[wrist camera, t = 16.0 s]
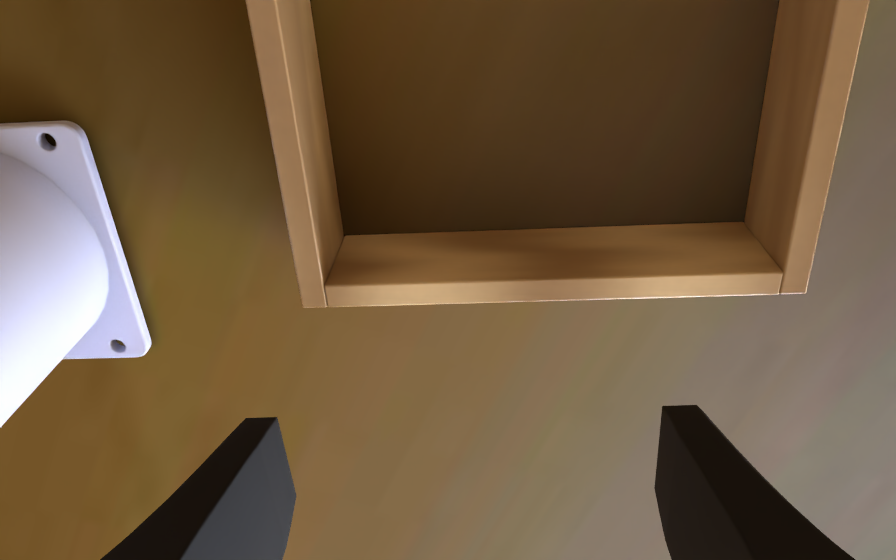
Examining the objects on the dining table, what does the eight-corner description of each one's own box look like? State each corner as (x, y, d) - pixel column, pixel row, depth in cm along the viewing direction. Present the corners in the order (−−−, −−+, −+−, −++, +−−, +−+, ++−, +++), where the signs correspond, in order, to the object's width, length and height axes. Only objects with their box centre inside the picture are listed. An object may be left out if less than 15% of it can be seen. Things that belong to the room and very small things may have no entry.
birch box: (325, 256, 22) (302, 308, 19) (238, -284, 15) (183, -323, 13) (763, 241, 21) (807, 294, 18) (866, -339, 15) (957, -393, 12)
